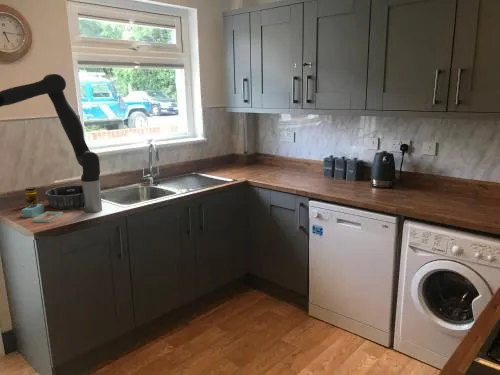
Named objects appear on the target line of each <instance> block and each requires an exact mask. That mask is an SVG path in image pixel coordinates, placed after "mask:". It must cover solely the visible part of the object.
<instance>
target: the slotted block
mask: <svg viewBox="0 0 500 375" xmlns="http://www.w3.org/2000/svg"><path fill="white" fill-rule="evenodd" d="M42 212H44V213H45V206H44V203H39V204H37V206H35V207H34V208H31V206H29V207H27V206H26V207H25V208H23V209H21V215H22V216H21V217H23V218H33V217H34V218H35V217H37V216H36V215H38V214H40V213H42ZM42 214H43V213H42ZM40 215H41V214H40ZM38 216H39V215H38Z"/></svg>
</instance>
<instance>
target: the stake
mask: <svg viewBox="0 0 500 375" xmlns="http://www.w3.org/2000/svg"><path fill="white" fill-rule="evenodd" d="M28 206H31V208H34V207H35V206H37V204H28ZM43 213H45V211H44V212H42V213H40V214H38V215H36V216H35V217H37V216H39V215H41V214H43Z"/></svg>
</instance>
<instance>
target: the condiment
mask: <svg viewBox="0 0 500 375" xmlns="http://www.w3.org/2000/svg"><path fill="white" fill-rule="evenodd" d="M24 194H25V202H26V207H29V206H28V204H40V203H39V197H38V192H37V188H36V187H33V186H32V187H31V186H30V187H26V188H25V193H24Z"/></svg>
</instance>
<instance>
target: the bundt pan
mask: <svg viewBox="0 0 500 375" xmlns="http://www.w3.org/2000/svg"><path fill="white" fill-rule="evenodd" d="M45 196H46V198H47V201H48V204H49V206H50V207H51V208H53V209H55V210H61V211H62V210H72V209H73V210H74V209H78V208H81V209H82V208H84V200H83V191H82V184H80V185H79V184H73V185H64V186H58V187H54V188H51V189H49V190H46V191H45Z"/></svg>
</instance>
